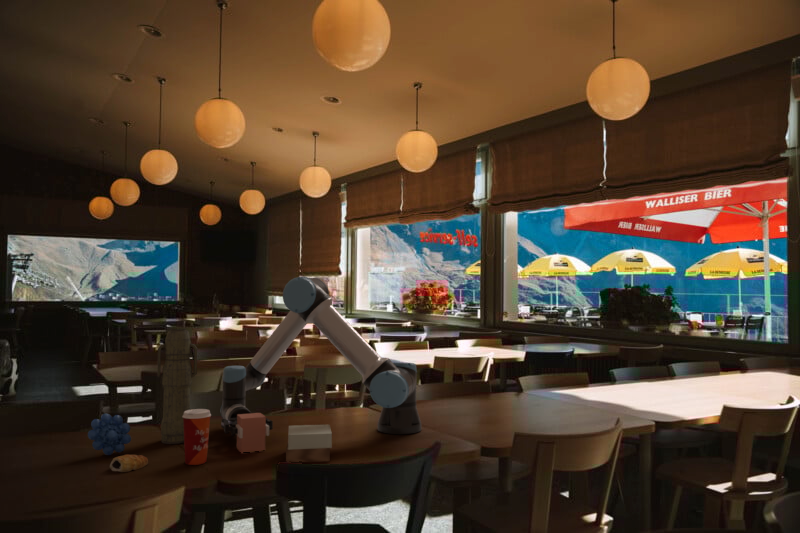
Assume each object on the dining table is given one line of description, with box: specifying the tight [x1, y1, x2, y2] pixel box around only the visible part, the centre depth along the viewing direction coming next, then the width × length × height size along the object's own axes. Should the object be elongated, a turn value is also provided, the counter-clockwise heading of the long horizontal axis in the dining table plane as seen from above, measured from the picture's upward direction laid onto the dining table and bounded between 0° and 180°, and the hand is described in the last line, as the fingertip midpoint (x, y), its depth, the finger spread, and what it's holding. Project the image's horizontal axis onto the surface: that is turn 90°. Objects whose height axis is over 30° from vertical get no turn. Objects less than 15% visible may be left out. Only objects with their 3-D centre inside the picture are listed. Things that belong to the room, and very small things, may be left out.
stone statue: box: [156, 328, 198, 445], centre depth 194 cm, size 9×12×35 cm
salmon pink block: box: [236, 412, 267, 454], centre depth 183 cm, size 7×7×10 cm
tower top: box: [287, 424, 333, 450], centre depth 176 cm, size 12×12×4 cm
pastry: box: [109, 453, 149, 473], centre depth 163 cm, size 9×7×4 cm
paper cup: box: [182, 408, 212, 466], centre depth 169 cm, size 8×8×14 cm
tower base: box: [285, 443, 331, 463], centre depth 176 cm, size 12×12×4 cm
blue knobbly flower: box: [87, 412, 132, 456], centre depth 175 cm, size 12×7×12 cm, turn 128°
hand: (254, 432), depth 179 cm, fingers closed on salmon pink block, 7 cm apart
